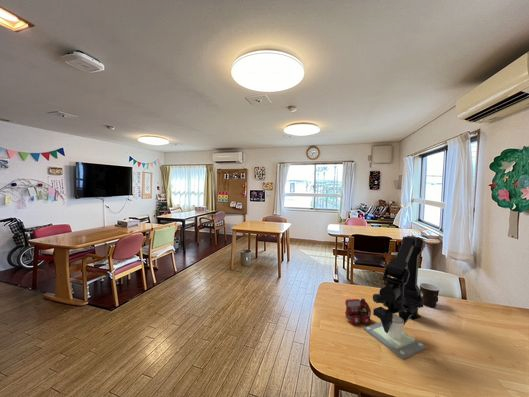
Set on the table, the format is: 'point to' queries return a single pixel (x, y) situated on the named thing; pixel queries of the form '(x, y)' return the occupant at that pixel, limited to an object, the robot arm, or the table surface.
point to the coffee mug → (429, 294)
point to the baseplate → (395, 341)
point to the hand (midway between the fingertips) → (393, 329)
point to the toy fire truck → (358, 311)
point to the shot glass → (396, 327)
